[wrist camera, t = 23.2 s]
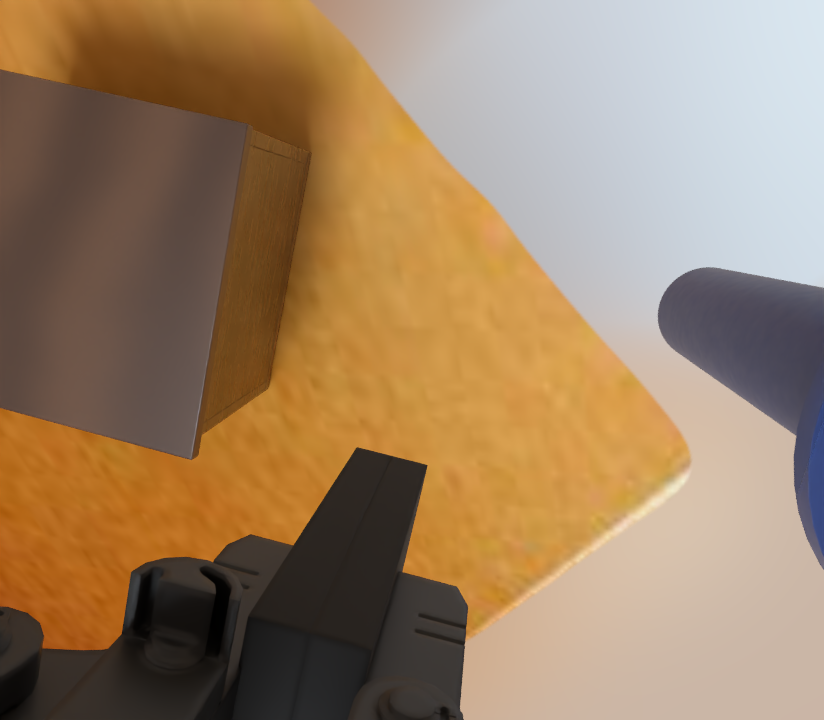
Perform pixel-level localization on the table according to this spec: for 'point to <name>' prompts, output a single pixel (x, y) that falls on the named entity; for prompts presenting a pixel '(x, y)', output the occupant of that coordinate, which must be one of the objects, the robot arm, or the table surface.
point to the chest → (257, 275)
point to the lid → (113, 259)
